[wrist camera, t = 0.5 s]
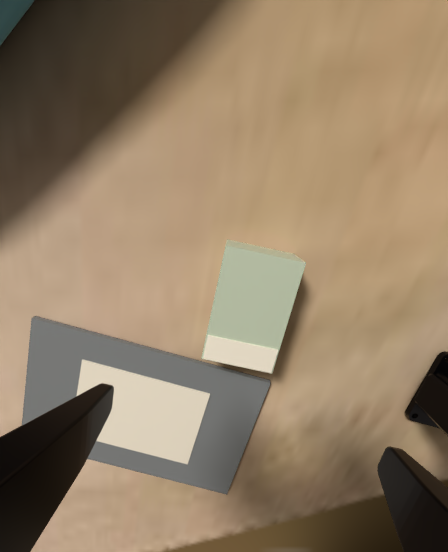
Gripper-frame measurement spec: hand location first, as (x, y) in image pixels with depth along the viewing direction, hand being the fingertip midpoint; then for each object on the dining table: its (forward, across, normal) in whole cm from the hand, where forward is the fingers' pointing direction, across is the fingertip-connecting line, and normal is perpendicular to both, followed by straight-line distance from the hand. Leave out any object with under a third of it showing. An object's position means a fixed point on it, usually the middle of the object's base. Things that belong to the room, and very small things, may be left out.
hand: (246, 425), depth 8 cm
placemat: (+12, +7, +12) cm, 18 cm away
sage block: (+12, 0, 0) cm, 12 cm away
